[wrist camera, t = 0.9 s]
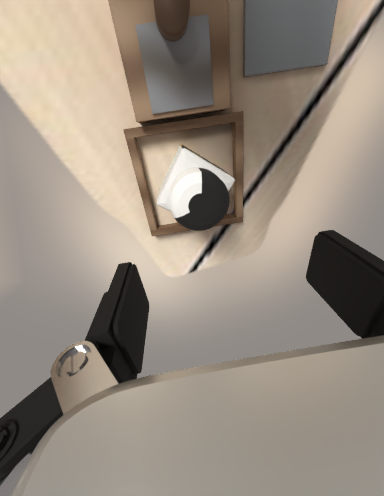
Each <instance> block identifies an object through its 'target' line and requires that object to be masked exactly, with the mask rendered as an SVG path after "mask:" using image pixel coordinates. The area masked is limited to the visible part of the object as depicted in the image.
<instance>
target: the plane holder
mask: <svg viewBox="0 0 384 496" xmlns="http://www.w3.org/2000/svg"><path fill="white" fill-rule="evenodd" d="M108 2H109V6H110V10H111V15H112V19H113V23H114V28H115V32H116V36H117V40H118V45H119V49H120V53H121V57H122V62H123V66H124V70H125V75H126V79H127V83H128V87H129V92H130V96H131V100H132V105H133V109H134V113H135V117H136V122H139V123H142V122H149V121H155V120H162V119H169V118H175V117H182V116H188V115H195V114H202V113H208V112H215V111H221V110H226V109H228V108H230V67H229V22H228V0H108ZM226 123H232V135H233V178H234V179H235V182H234V183H233V187H234V214H230V215H225V216H224V218H223V219H222V220H221V221H220V222H219V223H218V224H217V225H215V226H220V225H227V224H233V223H239V222H243V111H242V112H236V113H229V114H223V115H216V116H210V117H203V118H196V119H190V120H183V121H177V122H170V123H163V124H157V125H150V126H144V127H137V128H131V129H124V134H125V137H126V141H127V145H128V149H129V152H130V156H131V160H132V163H133V167H134V171H135V175H136V178H137V182H138V186H139V190H140V193H141V197H142V201H143V205H144V208H145V212H146V216H147V219H148V223H149V227H150V231H151V234H152V236H157V235H164V234H170V233H176V232H183V231H189V230H191V229H188V228H185V227H184V226H182V225H181V224H179V223H173V224H167V225H161V226H157V223H156V219H155V215H154V211H153V206H152V202H151V198H150V194H149V190H148V186H147V182H146V178H145V174H144V170H143V166H142V161H141V157H140V153H139V149H138V145H137V141H136V137H141V136H148V135H154V134H161V133H167V132H174V131H180V130H187V129H193V128H200V127H206V126H213V125H220V124H226ZM213 227H214V226H213Z"/></svg>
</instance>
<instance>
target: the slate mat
mask: <svg viewBox="0 0 384 496" xmlns="http://www.w3.org/2000/svg"><path fill="white" fill-rule="evenodd" d="M337 2H338V0H244V77H247V76H254V75H261V74H267V73H274V72H281V71H287V70H294V69H301V68H307V67H314V66H321V65H325V64H327V61H328V55H329V49H330V43H331V38H332V32H333V26H334V20H335V14H336V8H337Z"/></svg>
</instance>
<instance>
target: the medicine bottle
mask: <svg viewBox="0 0 384 496" xmlns="http://www.w3.org/2000/svg"><path fill="white" fill-rule="evenodd" d="M234 182H235V179H234V178H233V177H232V176H231V175H229V174H228V173H227V172H225V171H224V170H222V169H221V168H219V167H218V166H216V165H214V164H213V163H211V162H210V161H208V160H206V159H205V158H203V157H201V156H200V155H198V154H197V153H195V152H193V151H192V150H190V149H188V148H187V147H185V146H183V145H180V146H179V148H178V150H177V152H176V154H175V156H174V159H173V161H172V163H171V165H170V167H169V169H168V172H167V174H166V176H165V178H164V180H163V182H162V185H161V187H160V189H159V194H158V199H157V205H158V206H160V207H162V208H164V209H166V210H169V211H171V212H172V214H173V216H174V218H175V219H176V221H177V222H178V223H179V224H181V225H182V226H184V227H185V228H188V229H191V230H197V231H199V230H206V229H209V228H212V227H213V226H215V225H217V224H218V223H219V222H220V221H221V220H222V219H223V218H224V216H225V215H226V213H227V210H228V207H229V192H228V191H229V190H230V188H231V187H232V185H233V183H234Z"/></svg>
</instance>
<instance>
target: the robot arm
mask: <svg viewBox="0 0 384 496" xmlns="http://www.w3.org/2000/svg"><path fill="white" fill-rule="evenodd" d="M306 279H307V281H308V283H309V284H310V285H311V286H312V287H313V288H314V289H315V290H316V291H317V292H318V294H319V295H320V296H321V297H322V298H323V299H324V300H325V301H326V302H327V304H329V306H330V307H331V308H332V309H333V310H334V311H335V312H336V313H337V315H338V316H339V317H340V318H341V319H342V320H343V321H344V322H345V323H346V324H347V326H348V327H349V328H350V329H351V330H352V331H353V332H354V333H355V334H356V335H358V336H360V337H361V338H362V339H358V340H352V341H346V342H340V343H333V344H328V345H322V346H316V347H309V348H304V349H297V350H291V351H286V352H279V353H274V354H267V355H261V356H256V357H250V358H244V359H238V360H232V361H227V362H221V363H215V364H209V365H204V366H198V367H192V368H187V369H182V370H176V371H171V372H166V373H160V374H155V375H150V376H146V377H142V378H138V379H137V374H138V373H140V372H141V369H142V362H143V353H144V345H145V337H146V329H147V321H148V313H149V302H148V299H147V296H146V293H145V290H144V287H143V284H142V281H141V278H140V276H139V273H138V270H137V267H136V265H135V264H133V265H132V263H131V262H128V263H122V264H119V265H118V267H117V270H116V272H115V275H114V278H113V280H112V282H111V285H110V288H109V290H108V292H106V293H104V295H103V297H102V300H101V302H100V304H99V307H98V309H97V312H96V314H95V317H94V319H93V322H92V324H91V327H90V329H89V331H88V334H87V336H86V339H85V341H80V342H77V343H74V344H72V345H71V346H69V347H67V348H66V349H65V350H64V351H62V352H61V353H60V355H59V356H58V357H57V358H56V360H55V361H54V363H53V365H52V368H51V371H50V373H51V377H50V378H49V379H48V380H47V381H46V382H44V383H43V384H42V385H41V386H39V387H38V388H37V389H36V390H34V392H32V393H31V394H30V395H28V396H27V397H26V398H25V399H23V400H22V401H21V402H20V403H18V404H17V405H16V406H15V407H14V408H12V409H11V410H10V411H9V412H8V413H6V414H5V415H4V416H3V417H1V418H0V496H384V261H383V260H382V259H380V258H378V257H377V256H375V255H373V254H372V253H370V252H368V251H367V250H365V249H363V248H362V247H360V246H359V245H357V244H355V243H354V242H352V241H350V240H349V239H347V238H345V237H344V236H342V235H340V234H339V233H337V232H335V231H334V230H328V231H322V232H319V233H318V235H316V236H315V239H314V243H313V248H312V252H311V256H310V260H309V265H308V269H307V274H306Z"/></svg>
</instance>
